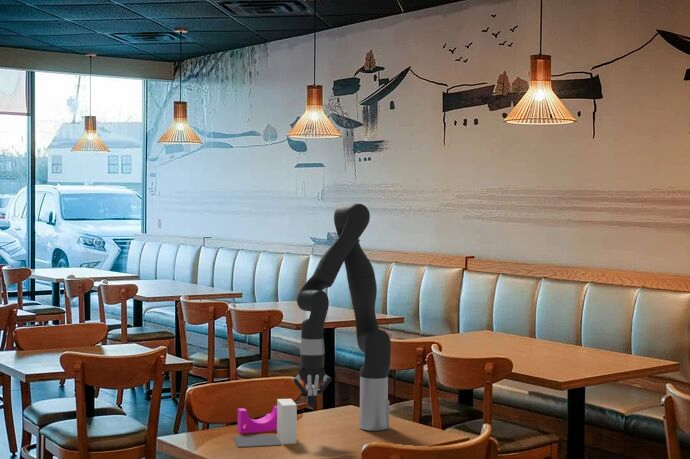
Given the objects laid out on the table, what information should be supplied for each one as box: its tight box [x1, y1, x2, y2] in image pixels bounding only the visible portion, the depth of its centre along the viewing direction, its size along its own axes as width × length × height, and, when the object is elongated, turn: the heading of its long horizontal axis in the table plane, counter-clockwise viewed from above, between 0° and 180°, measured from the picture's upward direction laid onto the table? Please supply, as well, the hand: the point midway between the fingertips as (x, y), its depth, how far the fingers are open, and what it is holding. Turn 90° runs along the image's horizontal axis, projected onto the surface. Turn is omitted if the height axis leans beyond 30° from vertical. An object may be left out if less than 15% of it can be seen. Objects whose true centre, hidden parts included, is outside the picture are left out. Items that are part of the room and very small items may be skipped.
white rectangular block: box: [276, 398, 298, 445], centre depth 284 cm, size 4×10×12 cm, turn 13°
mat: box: [232, 434, 283, 448], centre depth 282 cm, size 13×13×1 cm
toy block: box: [237, 405, 277, 434], centre depth 298 cm, size 15×6×8 cm, turn 112°
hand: (311, 407), depth 286 cm, fingers closed
